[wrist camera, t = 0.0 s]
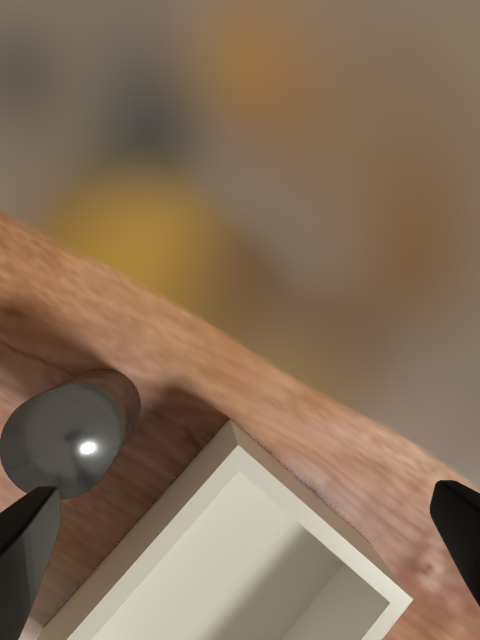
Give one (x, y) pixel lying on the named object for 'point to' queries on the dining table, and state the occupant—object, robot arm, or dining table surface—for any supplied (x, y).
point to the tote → (236, 562)
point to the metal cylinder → (70, 433)
